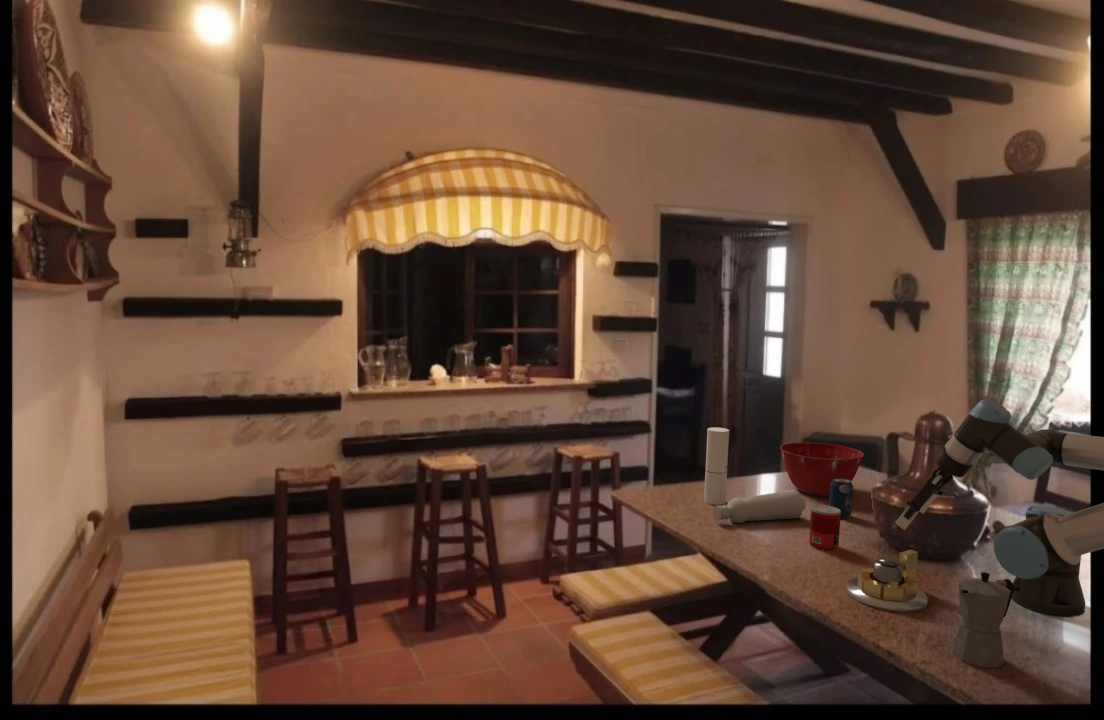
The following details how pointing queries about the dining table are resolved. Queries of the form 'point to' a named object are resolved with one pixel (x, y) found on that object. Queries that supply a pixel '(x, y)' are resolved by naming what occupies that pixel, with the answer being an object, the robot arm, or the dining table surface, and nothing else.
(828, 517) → the canned food
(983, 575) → the coffeepot
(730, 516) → the bottle
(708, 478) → the cylindrical container
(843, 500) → the soda can
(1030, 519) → the robot arm
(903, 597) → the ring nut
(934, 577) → the dining table surface
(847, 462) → the mixing bowl
